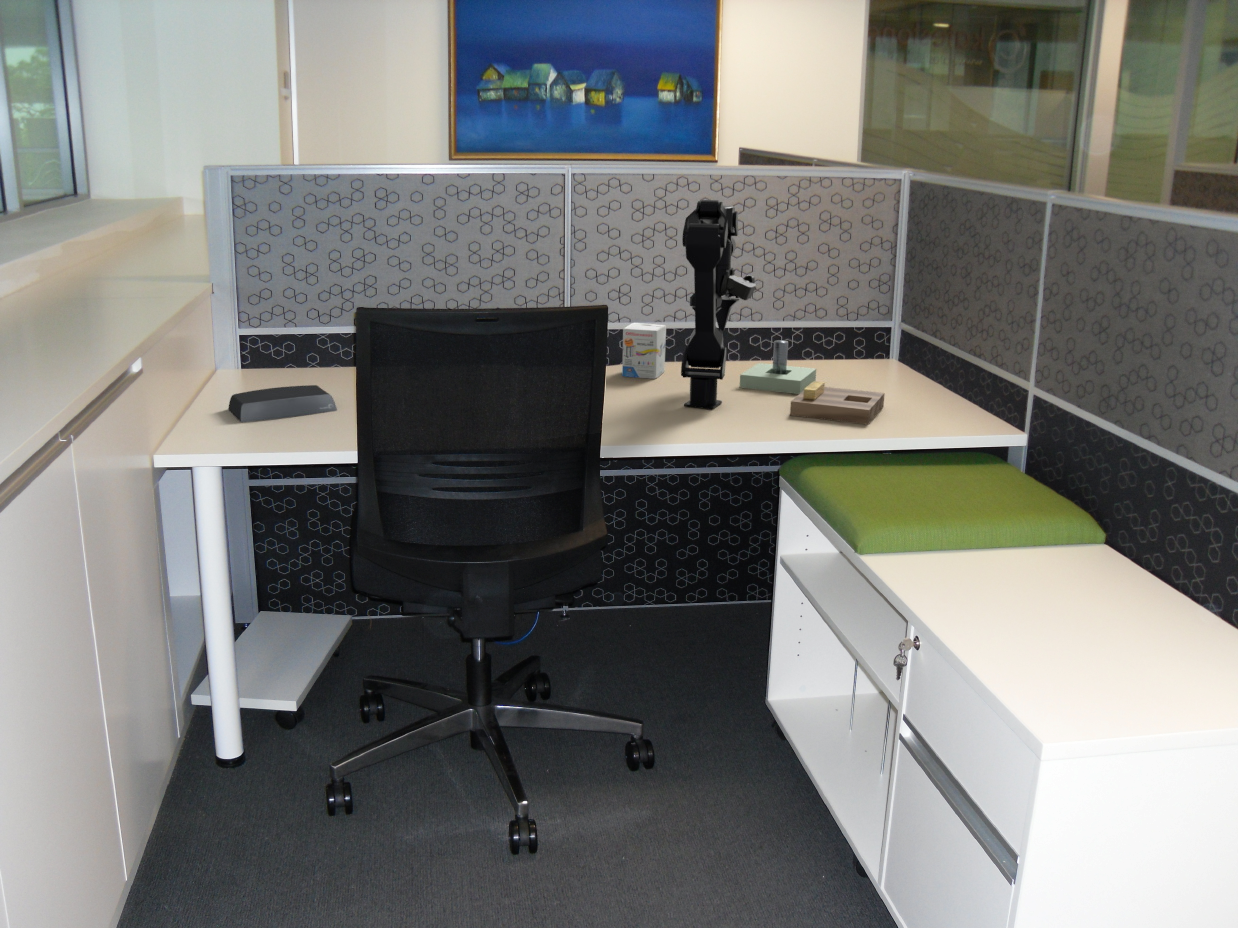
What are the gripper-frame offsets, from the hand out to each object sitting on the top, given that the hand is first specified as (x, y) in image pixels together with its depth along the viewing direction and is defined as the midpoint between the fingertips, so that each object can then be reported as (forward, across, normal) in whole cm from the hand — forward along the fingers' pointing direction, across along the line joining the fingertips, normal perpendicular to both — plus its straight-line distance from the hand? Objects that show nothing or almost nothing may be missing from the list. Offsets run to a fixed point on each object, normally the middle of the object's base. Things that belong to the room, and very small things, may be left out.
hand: (715, 333), depth 239 cm
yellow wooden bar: (+9, -11, -26) cm, 30 cm away
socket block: (+12, -10, -31) cm, 35 cm away
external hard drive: (+13, -60, +72) cm, 95 cm away
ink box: (+12, +4, +19) cm, 23 cm away
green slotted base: (+12, +8, -13) cm, 19 cm away
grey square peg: (+12, +8, -13) cm, 19 cm away
